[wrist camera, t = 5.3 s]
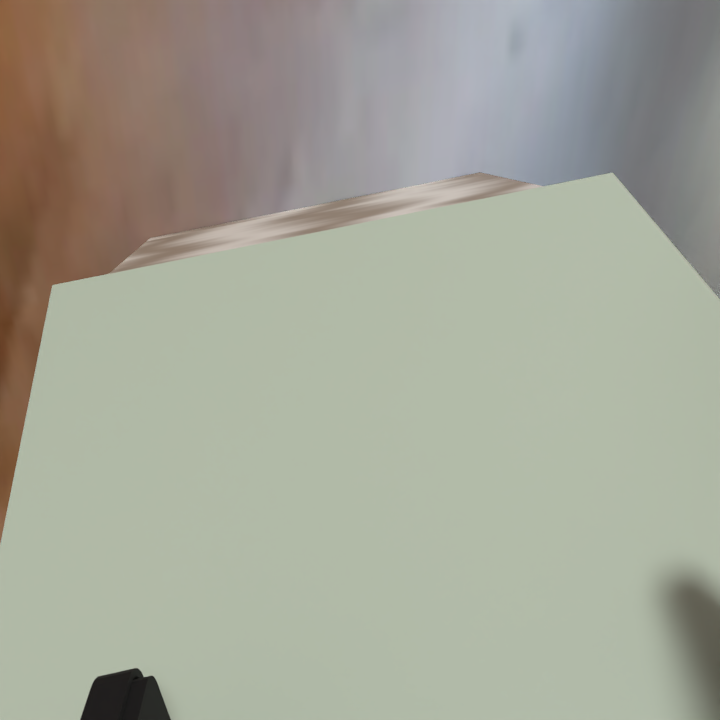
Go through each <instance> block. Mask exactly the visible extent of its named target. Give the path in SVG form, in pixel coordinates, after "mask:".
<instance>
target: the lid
mask: <svg viewBox="0 0 720 720" xmlns="http://www.w3.org/2000/svg"><path fill="white" fill-rule="evenodd" d="M134 668H138V669H139V670H140V671H141V672H142V674H143V676H144V677H147V676H154V677H155V679H156V681H157V683H158V686H159V689H160V692H161V694H162V697H163V700H164V702H165V705H166V708H167V711H168V713H169V716H170V719H171V720H720V299H719V298H718V296H717V295H716V294H715V293H714V292H713V290H712V289H711V288H710V287H709V286H708V285H707V283H706V282H705V281H704V280H703V279H702V278H701V276H700V275H699V274H698V273H697V272H696V270H695V269H694V268H693V267H692V266H691V265H690V263H689V262H688V261H687V260H686V259H685V257H684V256H683V255H682V254H681V253H680V252H679V250H678V249H677V248H676V247H675V246H674V244H673V243H672V242H671V241H670V240H669V239H668V237H667V236H666V235H665V234H664V233H663V231H662V230H661V229H660V228H659V227H658V226H657V224H656V223H655V222H654V221H653V220H652V218H651V217H650V216H649V215H648V214H647V213H646V211H645V210H644V209H643V208H642V207H641V205H640V204H639V203H638V202H637V201H636V200H635V198H634V197H633V196H632V195H631V194H630V192H629V191H628V190H627V189H626V188H625V187H624V185H623V184H622V183H621V182H620V181H619V179H618V178H617V177H616V176H615V175H614V174H613V173H608V174H603V175H598V176H593V177H588V178H583V179H578V180H573V181H568V182H563V183H558V184H553V185H548V186H543V187H538V188H533V189H528V190H523V191H518V192H513V193H508V194H503V195H499V196H494V197H489V198H484V199H479V200H474V201H469V202H464V203H459V204H454V205H449V206H444V207H439V208H434V209H429V210H424V211H419V212H414V213H409V214H404V215H399V216H394V217H389V218H384V219H379V220H374V221H369V222H364V223H359V224H354V225H349V226H344V227H339V228H334V229H330V230H325V231H320V232H315V233H310V234H305V235H300V236H295V237H290V238H285V239H280V240H275V241H270V242H265V243H260V244H255V245H250V246H245V247H240V248H235V249H230V250H225V251H220V252H215V253H210V254H205V255H200V256H195V257H190V258H185V259H180V260H175V261H170V262H166V263H161V264H156V265H151V266H146V267H141V268H136V269H131V270H126V271H121V272H116V273H111V274H106V275H101V276H96V277H91V278H86V279H81V280H76V281H71V282H66V283H61V284H56V285H52V290H51V295H50V300H49V305H48V310H47V315H46V320H45V325H44V330H43V335H42V340H41V345H40V350H39V355H38V360H37V365H36V370H35V375H34V380H33V385H32V390H31V395H30V400H29V405H28V409H27V414H26V419H25V424H24V429H23V434H22V439H21V444H20V449H19V454H18V459H17V464H16V469H15V474H14V479H13V484H12V489H11V494H10V499H9V504H8V509H7V514H6V519H5V524H4V529H3V534H2V539H1V544H0V720H80V719H81V716H82V713H83V710H84V707H85V704H86V701H87V698H88V695H89V692H90V689H91V686H92V684H93V682H94V680H95V679H96V678H97V677H98V676H102V675H107V674H111V673H116V672H120V671H125V670H129V669H134Z"/></svg>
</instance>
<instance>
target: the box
mask: <svg viewBox="0 0 720 720" xmlns="http://www.w3.org/2000/svg"><path fill="white" fill-rule="evenodd" d="M538 187H543V186H539V185H535V184H530V183H526V182H521V181H516V180H512V179H507V178H503V177H498V176H494V175H489V174H485V173H475V174H470V175H465V176H460V177H455V178H450V179H445V180H440V181H435V182H430V183H425V184H420V185H415V186H410V187H405V188H400V189H395V190H390V191H385V192H380V193H375V194H370V195H365V196H360V197H355V198H350V199H345V200H340V201H334V202H329V203H324V204H319V205H314V206H309V207H304V208H299V209H294V210H289V211H284V212H279V213H274V214H269V215H264V216H259V217H254V218H249V219H244V220H239V221H234V222H229V223H224V224H219V225H214V226H209V227H204V228H199V229H194V230H189V231H184V232H179V233H174V234H169V235H164V236H159V237H154V238H150V239H149V240H148V241H146V242H145V243H144V244H143V245H142V246H141V247H139V248H138V249H137V250H136V251H135V252H134V253H133V254H131V255H130V256H129V257H128V258H127V259H126V260H124V261H123V262H122V263H121V264H120V265H119V266H118V267H116V268H115V269H114V270H113V271H112V272H111V273H116V272H121V271H126V270H131V269H136V268H141V267H146V266H151V265H156V264H161V263H166V262H170V261H175V260H180V259H185V258H190V257H195V256H200V255H205V254H210V253H215V252H220V251H225V250H230V249H235V248H240V247H245V246H250V245H255V244H260V243H265V242H270V241H275V240H280V239H285V238H290V237H295V236H300V235H305V234H310V233H315V232H320V231H325V230H330V229H334V228H339V227H344V226H349V225H354V224H359V223H364V222H369V221H374V220H379V219H384V218H389V217H394V216H399V215H404V214H409V213H414V212H419V211H424V210H429V209H434V208H439V207H444V206H449V205H454V204H459V203H464V202H469V201H474V200H479V199H484V198H489V197H494V196H499V195H503V194H508V193H513V192H518V191H523V190H528V189H533V188H538ZM111 273H109V274H111Z"/></svg>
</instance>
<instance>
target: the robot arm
mask: <svg viewBox="0 0 720 720" xmlns="http://www.w3.org/2000/svg"><path fill="white" fill-rule="evenodd" d="M80 720H171V719H170V716H169V713H168V711H167V708H166V705H165V702H164V700H163V697H162V694H161V692H160V689H159V686H158V683H157V681H156V679H155V677H154V676H147V677H144V676H143V674H142V672H141V671H140V670H139V669H138V668H134V669H129V670H125V671H120V672H116V673H111V674H107V675H102V676H98V677H97V678H96V679H95V680H94V682H93V684H92V686H91V689H90V692H89V695H88V698H87V701H86V704H85V707H84V710H83V713H82V716H81V719H80Z"/></svg>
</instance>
